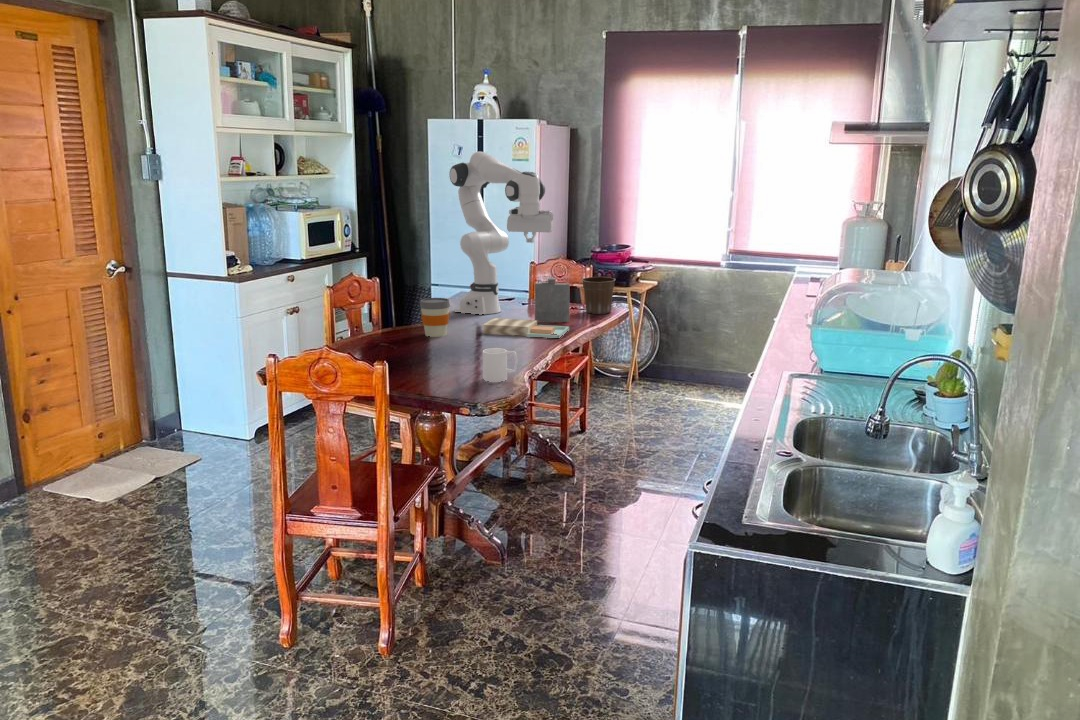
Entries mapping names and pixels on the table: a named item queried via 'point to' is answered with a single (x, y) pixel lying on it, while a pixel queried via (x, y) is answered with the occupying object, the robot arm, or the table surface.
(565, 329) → the tray
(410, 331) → the table surface
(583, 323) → the table surface
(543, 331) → the salmon pink block
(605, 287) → the plant pot
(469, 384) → the table surface
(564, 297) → the hip flask
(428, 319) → the reusable coffee cup
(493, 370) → the cup
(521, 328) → the beige flat block
